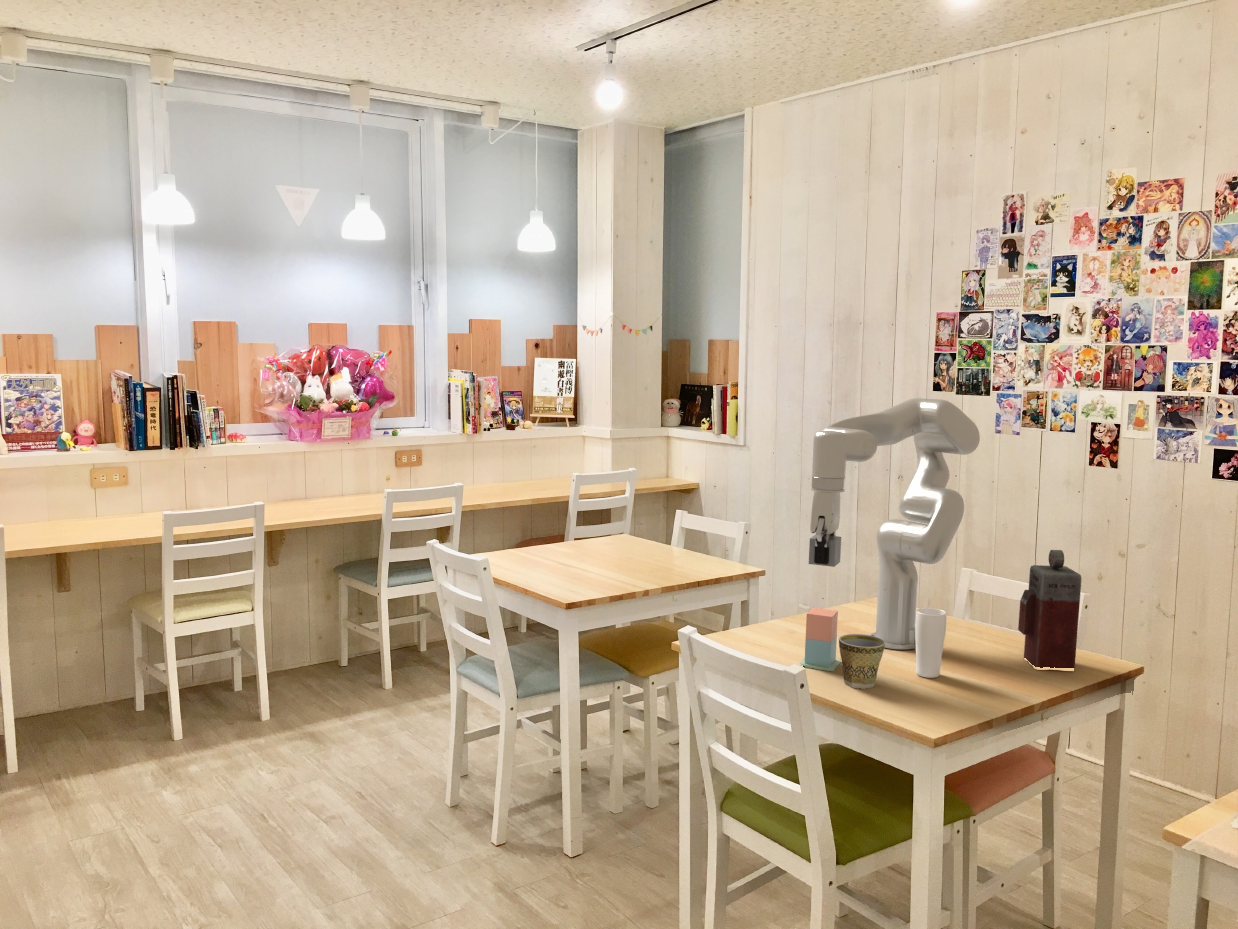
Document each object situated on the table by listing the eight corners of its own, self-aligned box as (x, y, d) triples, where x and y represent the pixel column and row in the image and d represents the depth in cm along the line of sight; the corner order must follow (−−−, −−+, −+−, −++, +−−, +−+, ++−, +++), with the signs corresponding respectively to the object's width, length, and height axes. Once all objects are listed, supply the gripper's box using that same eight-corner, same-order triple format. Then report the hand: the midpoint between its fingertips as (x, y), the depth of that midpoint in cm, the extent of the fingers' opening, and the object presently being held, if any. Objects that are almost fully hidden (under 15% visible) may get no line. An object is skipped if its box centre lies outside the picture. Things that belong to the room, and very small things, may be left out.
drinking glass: (927, 681, 224) (931, 616, 222) (906, 672, 230) (909, 609, 228) (949, 677, 227) (953, 613, 225) (927, 668, 233) (931, 606, 231)
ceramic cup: (880, 694, 215) (882, 649, 214) (833, 688, 218) (835, 643, 217) (886, 676, 227) (888, 633, 226) (841, 670, 231) (843, 628, 229)
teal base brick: (835, 660, 236) (836, 635, 235) (830, 667, 231) (831, 642, 230) (810, 656, 238) (811, 632, 238) (804, 663, 233) (805, 638, 232)
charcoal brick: (814, 559, 235) (815, 534, 235) (840, 561, 233) (841, 536, 232) (808, 564, 230) (809, 538, 229) (834, 566, 228) (835, 541, 227)
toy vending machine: (1013, 658, 242) (1021, 545, 239) (1060, 659, 241) (1069, 546, 238) (1025, 670, 233) (1034, 553, 230) (1074, 671, 233) (1084, 554, 229)
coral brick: (811, 632, 238) (812, 607, 237) (836, 635, 235) (837, 610, 235) (805, 638, 232) (806, 613, 232) (831, 642, 230) (832, 616, 229)
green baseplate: (840, 662, 237) (840, 659, 236) (833, 671, 229) (833, 669, 229) (807, 657, 240) (807, 654, 240) (799, 666, 233) (799, 664, 232)
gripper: (820, 478, 239) (817, 552, 241) (802, 487, 223) (799, 566, 225) (852, 481, 236) (848, 555, 238) (836, 490, 220) (832, 570, 222)
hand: (824, 560), depth 231 cm, fingers closed on charcoal brick, 6 cm apart
